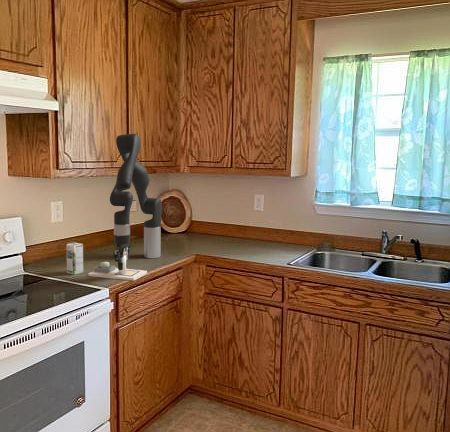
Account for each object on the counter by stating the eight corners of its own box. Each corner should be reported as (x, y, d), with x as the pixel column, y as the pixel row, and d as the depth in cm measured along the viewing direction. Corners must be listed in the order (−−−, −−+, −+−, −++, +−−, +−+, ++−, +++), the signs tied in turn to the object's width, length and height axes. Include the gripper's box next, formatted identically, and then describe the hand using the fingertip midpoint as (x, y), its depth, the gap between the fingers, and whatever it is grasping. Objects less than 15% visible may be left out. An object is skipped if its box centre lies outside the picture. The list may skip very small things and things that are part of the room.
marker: (120, 271, 227) (120, 250, 225) (127, 272, 226) (127, 251, 224) (117, 273, 223) (116, 252, 222) (124, 274, 222) (123, 252, 221)
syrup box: (66, 273, 228) (65, 243, 226) (76, 270, 233) (75, 241, 231) (74, 275, 225) (73, 245, 223) (84, 272, 230) (83, 243, 228)
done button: (103, 267, 231) (103, 261, 231) (111, 268, 230) (110, 261, 230) (98, 269, 227) (98, 263, 227) (106, 270, 226) (106, 263, 226)
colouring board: (103, 268, 237) (103, 262, 237) (146, 273, 231) (146, 266, 230) (88, 276, 224) (88, 269, 223) (134, 280, 217) (133, 274, 217)
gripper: (121, 230, 229) (122, 264, 232) (107, 235, 216) (107, 271, 218) (135, 231, 227) (136, 265, 230) (122, 236, 214) (122, 273, 216)
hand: (122, 268), depth 224 cm, fingers closed on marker, 3 cm apart
